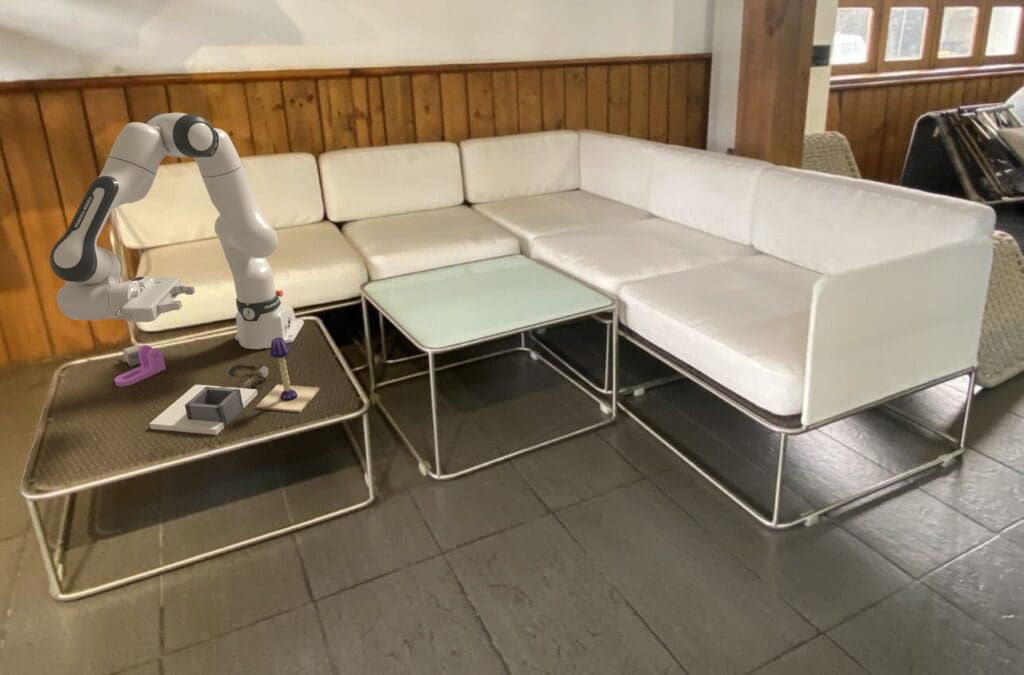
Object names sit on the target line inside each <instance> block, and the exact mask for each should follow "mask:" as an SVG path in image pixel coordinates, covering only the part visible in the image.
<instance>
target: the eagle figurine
mask: <svg viewBox="0 0 1024 675" xmlns="http://www.w3.org/2000/svg"><path fill="white" fill-rule="evenodd" d="M257 366H258V367H257ZM257 366H255V365H254V364H252V365H246V364H245V365H244V364H236V365H234V366H232V367H231V368H230V369H229V370H228V373H227V374H228V375H229V376H230V377H232V378H233V377H237V378H242V377H248V379H247V380H245V381H244V382H243V383H241V384H240V385H238V386H237V387H236V388H245V389H253V387H254V386H256V385H259V383H261V379H263V381H267V377H268V375H269V373H270V372H269V371H270V370H269V368H268V367H267V366H265V365H262V364H261V363H260V361H259V360H258V361H257ZM258 368H259V370H258Z"/></svg>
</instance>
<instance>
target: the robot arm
mask: <svg viewBox="0 0 1024 675" xmlns="http://www.w3.org/2000/svg"><path fill="white" fill-rule="evenodd" d="M233 143H234V142H232V140H231V138H230V137H229V135H228V133H227V132H226V131H224V129H220V128H217V127H216V128H215V127H213V125H212V124H211V123H210V122H209V121H207V119H205V118H204V117H202V116H200V115H197V114H193V113H184V112H170V113H168V112H167V113H164V112H163V113H161V112H160V113H156V114H153V115H151V116H149V117H148V118H147V119H145V120H144V121H143V122H137V121H135V122H133V121H132V122H129V123H127V124H125V125H124V126H123V128H122V130H121V131H120V133H119V134H118V135H117V137H116V139H115V141H114V143H113V145H112V147H111V150H110V151H109V154H108V157H107V158H106V159H107V160H106V162H105V164H104V166H103V169H102V170H101V172H100V174H99V175H98V177H97V178H96V179H95V180H94V181H93V182H92V183H91V185H90V186H89V187H88V189H87V190H86V193H85V195H84V196H83V199H82V200H81V203H80V204H79V206H78V208H77V210H76V212H75V213H74V216H73V218H72V220H71V222H70V224H69V225H68V228H67V229H66V231H65V233H64V234H63V235H62V236H61V237H60V238H59V239H58V241H56V243H55V244H54V245H53V246H52V249H51V250H50V254H49V265H50V268H51V270H52V272H53V273H54V275H56V276H57V277H58V278H59V279H61V280H63V281H66V282H65V284H64V285H63V286H62V287H61V288H60V289H58V291H57V292H56V303H57V306H58V309H59V311H60V312H61V313H62V315H64V316H65V317H66V318H68V319H70V320H75V321H103V320H106V319H114V320H125V321H126V322H130V323H150V322H155V321H156V319H158V317H159V316H160V315H161V314H166V313H169V312H171V311H180V310H181V308H183V307H182V306H183V305H182V301H180V300H175V299H176V298H177V296H179V295H182V294H185V295H186V296H189V295H194V294H195V293H196V288H195V286H194V285H186V284H185V285H184V284H182V281H181V279H180V278H179V277H176V276H153V277H148V276H147V275H139V276H137V277H135V278H133V279H131V280H126V281H122V282H121V278H122V276H121V275H122V263H121V262H122V261H121V260H120V258H119V257H118V255H117V254H116V253H115V252H113V251H111V250H108V248H104V247H101V246H98V245H97V241H98V238H99V236H101V235H100V234H101V232H102V231H103V228H104V226H105V225H106V222H107V220H108V218H109V216H110V214H111V213H112V212H113V211H114V210H115V209H116V208H118V207H119V206H122V205H126V204H133V203H136V202H139V201H142V200H144V199H145V198H146V197H147V195H148V194H149V192H150V190H151V188H152V187H153V184H154V182H155V179H156V176H157V172H158V170H159V167H160V164H161V162H162V160H163V159H164V158H165V157H166V156H168V157H174V158H180V159H181V158H193V159H194V161H195V162H196V164H197V167H198V170H199V172H200V175H201V178H202V181H203V183H204V187H205V189H206V191H207V193H208V196H209V199H210V201H211V203H212V205H213V206H214V207H215V209H216V211H217V212H218V213H219V215H218V216H217V218H216V219H215V221H214V233H215V234H216V236H217V238H218V240H219V241H220V244H221V247H222V249H223V253H224V255H225V258H226V261H227V264H228V267H229V268H230V271H231V275H232V278H233V284H234V289H235V293H236V298H235V301H236V302H235V305H236V307H237V308H236V309H237V313H236V314H235V319H236V329H237V331H236V332H237V334H235V335H234V339H235V340H236V341H238V342H239V345H240V346H241V347H243V348H244V349H248V350H249V349H250V350H264V348H265V349H269V348H270V349H271V342H272V340H273V339H275V338H283V339H284V341H285V343H286V344H290V343H292V342H294V340H295V339H296V337H297V336H298V334H299V332H300V330H302V327H303V326H304V324H305V321H304V320H303V319H301V318H297V317H296V315H295V311H294V308H292V307H291V306H289V305H287V304H285V303H283V302H282V301H281V300H280V298H281V297H283V296H284V291H283V290H282V289H279V290H278V289H276V287H275V281H274V276H273V269H272V267H271V265H270V264H269V262H268V260H267V258H268V257H270V256H271V255H272V254H274V253H275V251H276V249H277V248H278V244H279V237H278V234H277V232H276V231H275V229H274V228H273V227H272V225H271V224H270V222H269V220H268V218H267V217H266V215H265V212H264V210H263V209H262V206H261V205H260V204H259V202H258V200H257V198H256V197H255V195H254V192H253V191H252V190H253V189H252V188H251V186H250V182H249V179H248V177H247V174H246V172H245V170H244V166H243V163H242V161H241V159H240V156H239V154H238V152H237V149H236V147H235V145H234V144H233ZM262 348H263V349H262Z"/></svg>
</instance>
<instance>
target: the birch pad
mask: <svg viewBox="0 0 1024 675" xmlns="http://www.w3.org/2000/svg"><path fill="white" fill-rule="evenodd" d="M290 386H291V389H293V390H295V391H296V393H297V397H296V398H295V399H293V400H290V401H284V400H281V393H282V392H283V391H284V385H283V384H275V386H274V388H273V389H271V391H269V393H267V395H266V396H265V397H264V398H262V399H261V401H260V402H259V403H258V404H257V405H256V406H255V409H256V410H268V411H276V412H277V411H278V412H291V413H301V412H302V411H303V410H304V408H306V407H307V406H308V404H309V403H310V402H311V400H312V399H313V398H315V396H316V395H317V393H319V391H320V387H316V386H315V387H314V386H304V385H303V386H302V385H293V384H292V385H291V384H290Z"/></svg>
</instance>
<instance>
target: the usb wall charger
mask: <svg viewBox="0 0 1024 675" xmlns="http://www.w3.org/2000/svg"><path fill="white" fill-rule="evenodd" d="M139 348H140V347H138V345H134V346H130V347H127V348H124V349H123V350H122V352H123V356H124V360H125V361H126V363H127V364H128V365H129V366H130V367H134V366H136V365H135V364H138V365H140V364H139V363H140V359H139V355H138V350H139ZM133 365H134V366H133Z"/></svg>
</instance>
